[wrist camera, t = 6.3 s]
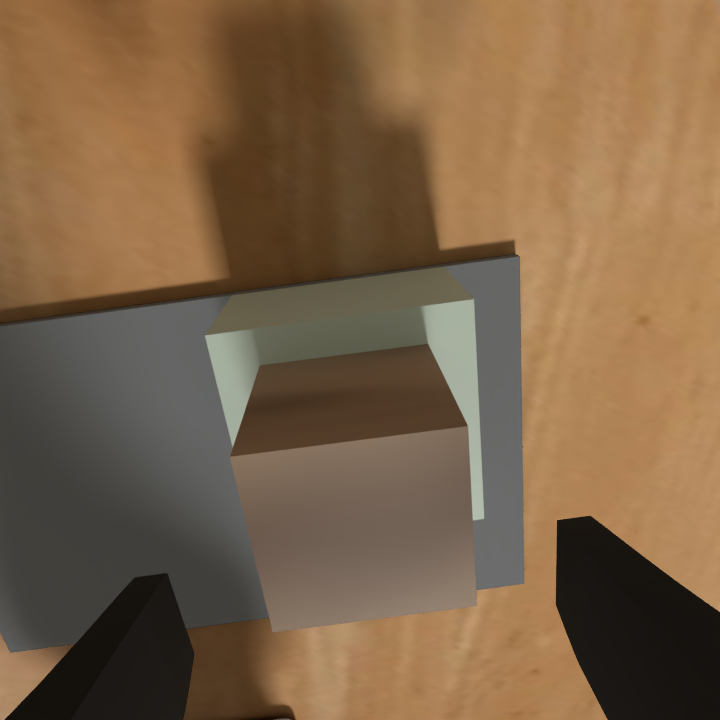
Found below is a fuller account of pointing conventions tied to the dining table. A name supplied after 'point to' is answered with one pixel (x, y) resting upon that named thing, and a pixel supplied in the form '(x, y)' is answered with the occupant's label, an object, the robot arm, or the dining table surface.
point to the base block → (352, 337)
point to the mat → (183, 461)
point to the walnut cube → (356, 488)
